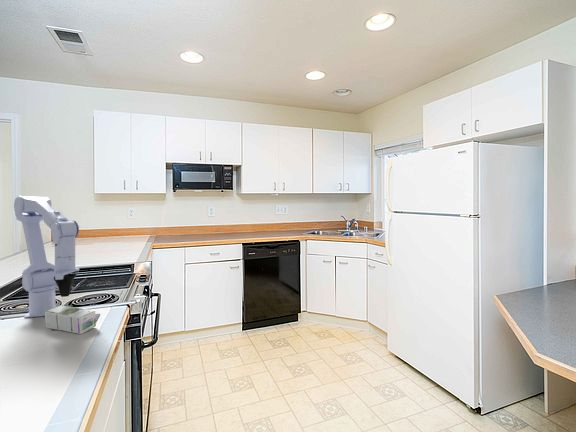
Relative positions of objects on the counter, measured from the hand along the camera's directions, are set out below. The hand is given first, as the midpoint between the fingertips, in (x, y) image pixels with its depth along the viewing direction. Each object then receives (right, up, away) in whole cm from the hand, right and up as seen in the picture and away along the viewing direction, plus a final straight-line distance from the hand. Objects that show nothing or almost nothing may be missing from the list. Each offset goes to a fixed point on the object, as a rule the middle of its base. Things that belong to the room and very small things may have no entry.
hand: (65, 296), depth 107 cm
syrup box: (-2, -6, -3) cm, 7 cm away
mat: (+3, -9, +2) cm, 10 cm away
